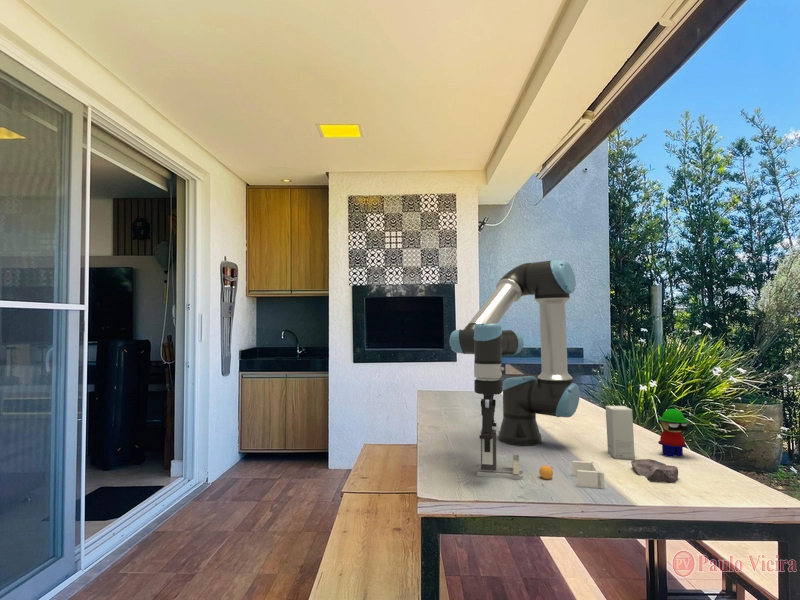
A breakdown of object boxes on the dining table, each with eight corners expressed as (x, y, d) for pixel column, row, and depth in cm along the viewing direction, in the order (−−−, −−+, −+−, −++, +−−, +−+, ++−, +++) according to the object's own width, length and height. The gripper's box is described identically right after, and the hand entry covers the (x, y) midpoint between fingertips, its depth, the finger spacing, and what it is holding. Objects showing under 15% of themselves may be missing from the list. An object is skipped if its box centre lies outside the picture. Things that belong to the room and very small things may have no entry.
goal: (577, 487, 115) (577, 471, 115) (572, 475, 124) (572, 460, 124) (604, 489, 113) (604, 473, 113) (597, 477, 122) (596, 462, 123)
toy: (686, 453, 150) (684, 407, 150) (694, 460, 141) (693, 412, 142) (655, 451, 152) (654, 405, 153) (662, 458, 144) (660, 410, 145)
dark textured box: (480, 476, 122) (480, 432, 123) (482, 469, 128) (481, 428, 128) (519, 479, 120) (518, 435, 120) (518, 472, 125) (518, 430, 126)
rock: (684, 485, 120) (683, 467, 120) (637, 481, 123) (636, 464, 123) (673, 475, 128) (673, 459, 128) (629, 472, 130) (629, 456, 131)
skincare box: (635, 460, 142) (633, 409, 143) (612, 459, 143) (611, 408, 144) (627, 453, 150) (626, 405, 151) (606, 451, 151) (604, 404, 152)
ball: (536, 478, 121) (536, 464, 122) (545, 476, 123) (545, 462, 124) (546, 482, 118) (546, 468, 119) (555, 479, 120) (555, 466, 121)
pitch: (468, 485, 119) (468, 476, 119) (472, 469, 132) (472, 461, 132) (608, 497, 111) (608, 487, 111) (597, 478, 124) (597, 470, 125)
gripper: (501, 384, 113) (502, 471, 112) (502, 374, 137) (503, 446, 136) (470, 383, 115) (471, 469, 113) (477, 374, 139) (477, 444, 138)
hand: (488, 456), depth 125 cm, fingers open, 13 cm apart
